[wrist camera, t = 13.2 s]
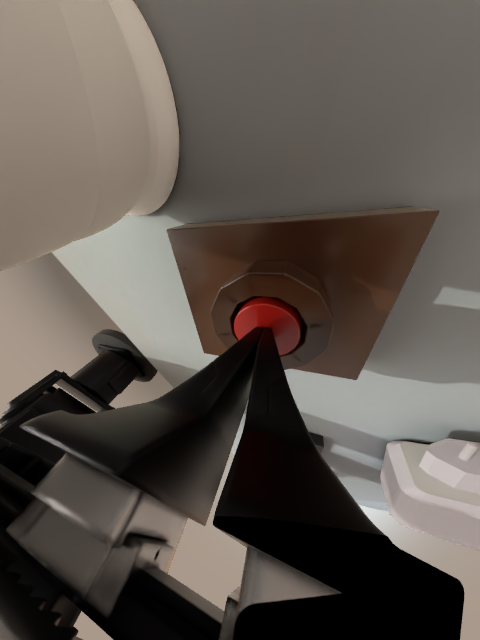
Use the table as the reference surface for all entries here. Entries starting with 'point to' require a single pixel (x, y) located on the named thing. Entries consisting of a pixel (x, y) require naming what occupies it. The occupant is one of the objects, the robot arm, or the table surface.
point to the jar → (79, 122)
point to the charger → (435, 488)
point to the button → (270, 320)
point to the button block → (303, 278)
